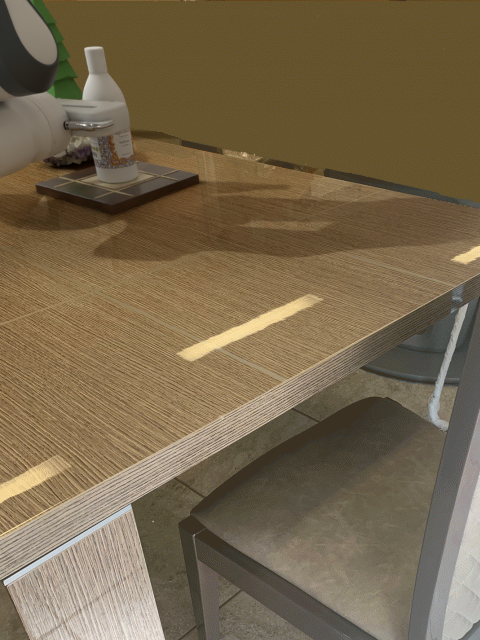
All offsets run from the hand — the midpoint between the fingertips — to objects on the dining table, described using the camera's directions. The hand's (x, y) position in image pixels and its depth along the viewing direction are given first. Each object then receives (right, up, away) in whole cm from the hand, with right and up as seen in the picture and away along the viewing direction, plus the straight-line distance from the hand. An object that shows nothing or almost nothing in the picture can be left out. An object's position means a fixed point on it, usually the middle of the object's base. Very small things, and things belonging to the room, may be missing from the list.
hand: (90, 105), depth 103 cm
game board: (+1, -9, +11) cm, 14 cm away
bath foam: (+1, -8, +10) cm, 13 cm away
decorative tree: (-19, +14, +42) cm, 49 cm away
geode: (-13, +1, +25) cm, 28 cm away
